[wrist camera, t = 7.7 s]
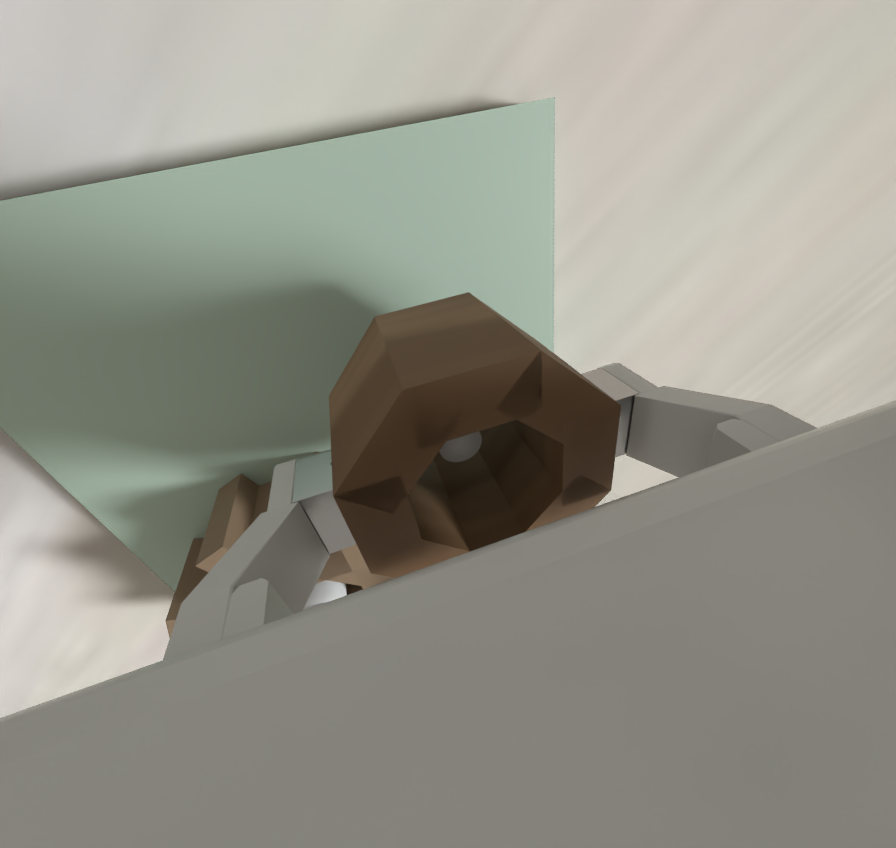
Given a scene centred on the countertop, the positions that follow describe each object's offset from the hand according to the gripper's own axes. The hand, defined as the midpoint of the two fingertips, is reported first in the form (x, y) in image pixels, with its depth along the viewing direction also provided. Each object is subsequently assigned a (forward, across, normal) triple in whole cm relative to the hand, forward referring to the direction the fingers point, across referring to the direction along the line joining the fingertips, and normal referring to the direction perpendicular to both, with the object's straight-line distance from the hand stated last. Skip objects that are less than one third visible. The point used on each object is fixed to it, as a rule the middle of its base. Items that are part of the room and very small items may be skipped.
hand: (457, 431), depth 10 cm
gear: (+2, 0, 0) cm, 2 cm away
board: (+6, +4, +4) cm, 8 cm away
